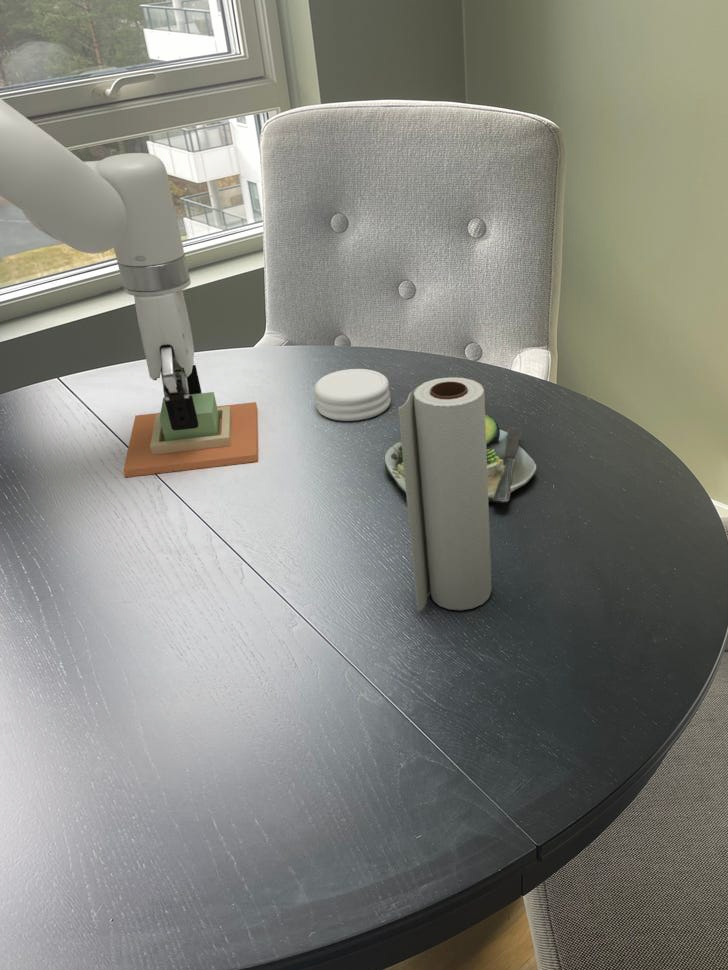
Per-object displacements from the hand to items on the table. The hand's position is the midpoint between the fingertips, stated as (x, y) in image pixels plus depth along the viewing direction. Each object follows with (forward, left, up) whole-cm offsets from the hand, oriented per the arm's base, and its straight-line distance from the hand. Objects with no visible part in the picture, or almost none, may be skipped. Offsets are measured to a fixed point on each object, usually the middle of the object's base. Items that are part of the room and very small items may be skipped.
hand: (187, 411), depth 122 cm
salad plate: (+32, -17, -4) cm, 37 cm away
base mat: (0, 0, -4) cm, 4 cm away
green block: (0, 0, -3) cm, 3 cm away
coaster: (+21, +5, -4) cm, 22 cm away
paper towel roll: (+27, -42, -4) cm, 50 cm away
